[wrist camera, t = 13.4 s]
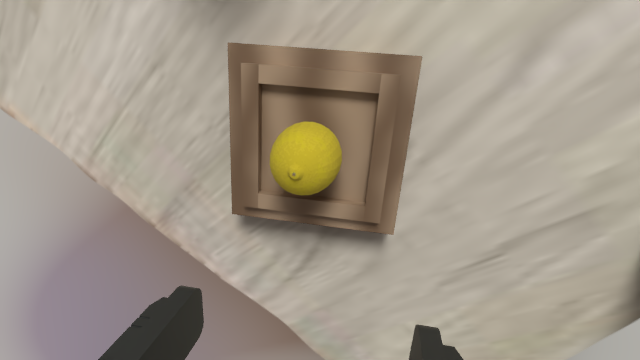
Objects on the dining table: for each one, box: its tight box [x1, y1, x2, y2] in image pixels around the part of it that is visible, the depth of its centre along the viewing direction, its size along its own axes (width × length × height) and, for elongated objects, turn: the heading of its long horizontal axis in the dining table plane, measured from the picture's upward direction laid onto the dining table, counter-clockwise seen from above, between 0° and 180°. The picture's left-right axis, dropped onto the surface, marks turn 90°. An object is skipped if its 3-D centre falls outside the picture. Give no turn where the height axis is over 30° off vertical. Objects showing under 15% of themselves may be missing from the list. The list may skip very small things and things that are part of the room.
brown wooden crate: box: [228, 43, 422, 235], centre depth 32 cm, size 16×16×5 cm
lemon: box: [270, 122, 342, 195], centre depth 27 cm, size 6×6×8 cm
